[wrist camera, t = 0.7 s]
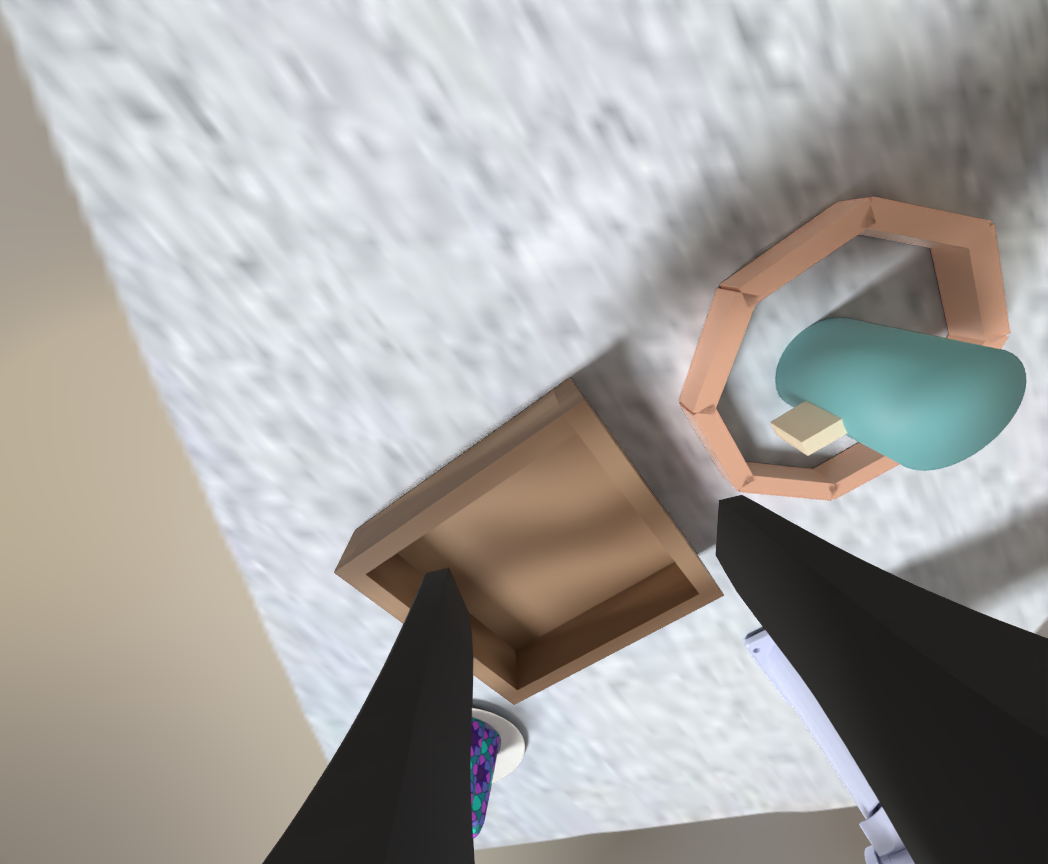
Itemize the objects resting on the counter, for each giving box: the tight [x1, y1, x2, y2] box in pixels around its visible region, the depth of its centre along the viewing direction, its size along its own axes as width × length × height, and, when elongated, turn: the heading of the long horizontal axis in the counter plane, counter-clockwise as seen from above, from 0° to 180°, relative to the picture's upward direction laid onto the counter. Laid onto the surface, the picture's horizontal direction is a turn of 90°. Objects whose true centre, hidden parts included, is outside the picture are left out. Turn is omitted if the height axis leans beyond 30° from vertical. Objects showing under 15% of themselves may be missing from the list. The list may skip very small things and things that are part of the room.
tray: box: [334, 377, 724, 705], centre depth 21 cm, size 14×14×3 cm
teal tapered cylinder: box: [770, 317, 1026, 471], centre depth 16 cm, size 4×6×6 cm
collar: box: [679, 196, 1010, 501], centre depth 18 cm, size 13×13×2 cm
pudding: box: [471, 708, 525, 838], centre depth 28 cm, size 12×12×5 cm
